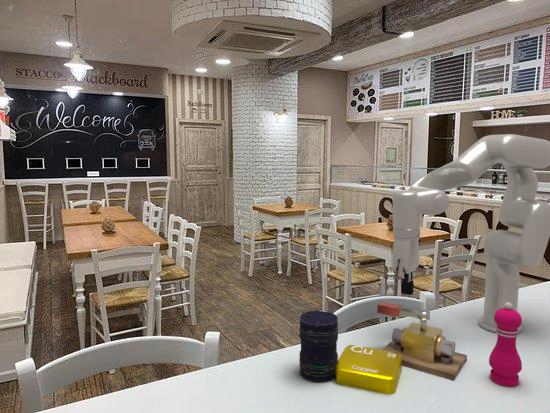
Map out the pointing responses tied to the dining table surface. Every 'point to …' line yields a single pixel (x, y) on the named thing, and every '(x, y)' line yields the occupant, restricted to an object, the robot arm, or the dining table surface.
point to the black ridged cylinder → (318, 346)
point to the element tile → (369, 369)
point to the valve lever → (401, 311)
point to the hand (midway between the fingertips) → (407, 293)
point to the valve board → (433, 368)
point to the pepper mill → (506, 347)
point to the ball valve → (423, 342)
